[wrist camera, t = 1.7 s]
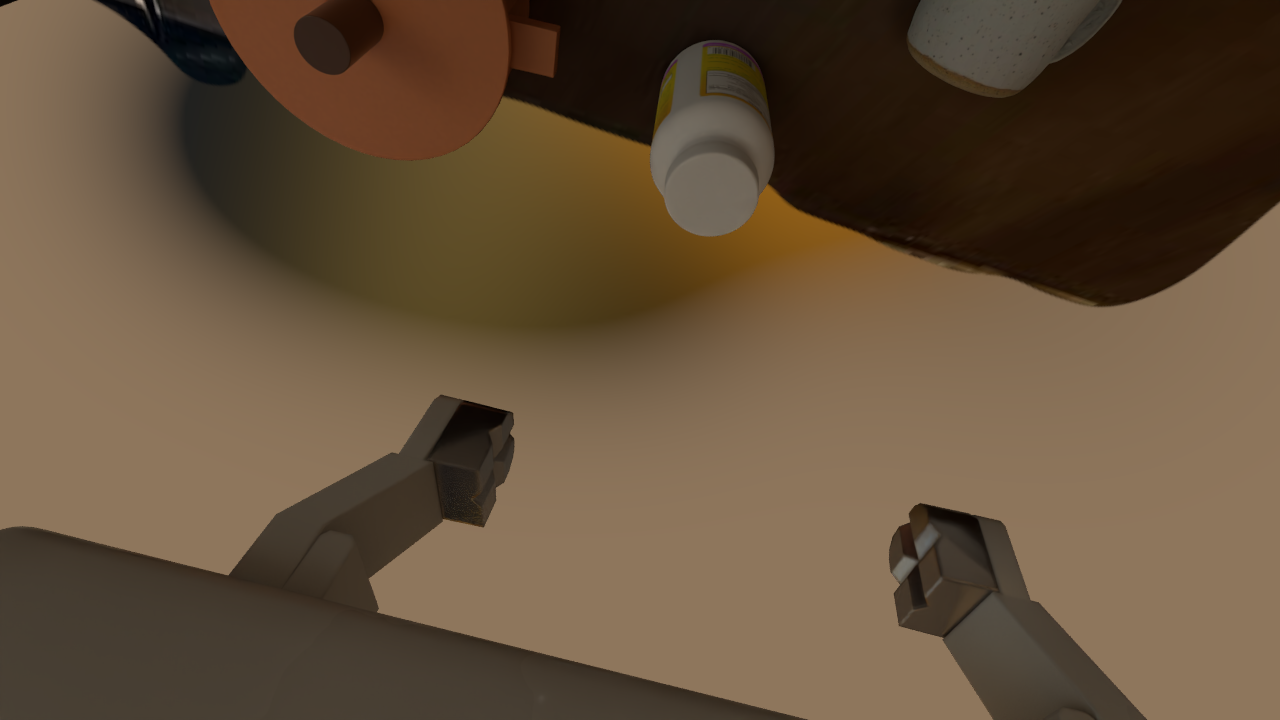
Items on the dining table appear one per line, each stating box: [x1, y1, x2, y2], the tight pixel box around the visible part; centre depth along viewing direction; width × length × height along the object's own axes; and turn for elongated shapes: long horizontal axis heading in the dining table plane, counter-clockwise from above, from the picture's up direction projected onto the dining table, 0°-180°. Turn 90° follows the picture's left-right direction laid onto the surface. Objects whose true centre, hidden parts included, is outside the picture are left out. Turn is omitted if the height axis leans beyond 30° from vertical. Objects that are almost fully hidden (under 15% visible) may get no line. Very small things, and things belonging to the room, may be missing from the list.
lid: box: [209, 0, 511, 161], centre depth 30 cm, size 16×16×5 cm
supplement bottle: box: [650, 40, 774, 236], centre depth 34 cm, size 7×7×13 cm
